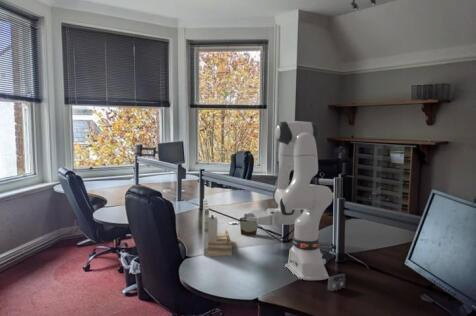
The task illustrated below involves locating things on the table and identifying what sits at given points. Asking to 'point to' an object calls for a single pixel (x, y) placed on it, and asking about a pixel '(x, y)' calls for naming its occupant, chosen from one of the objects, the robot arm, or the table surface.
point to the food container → (248, 227)
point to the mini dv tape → (336, 282)
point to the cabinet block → (212, 229)
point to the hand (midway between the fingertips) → (245, 217)
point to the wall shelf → (223, 240)
